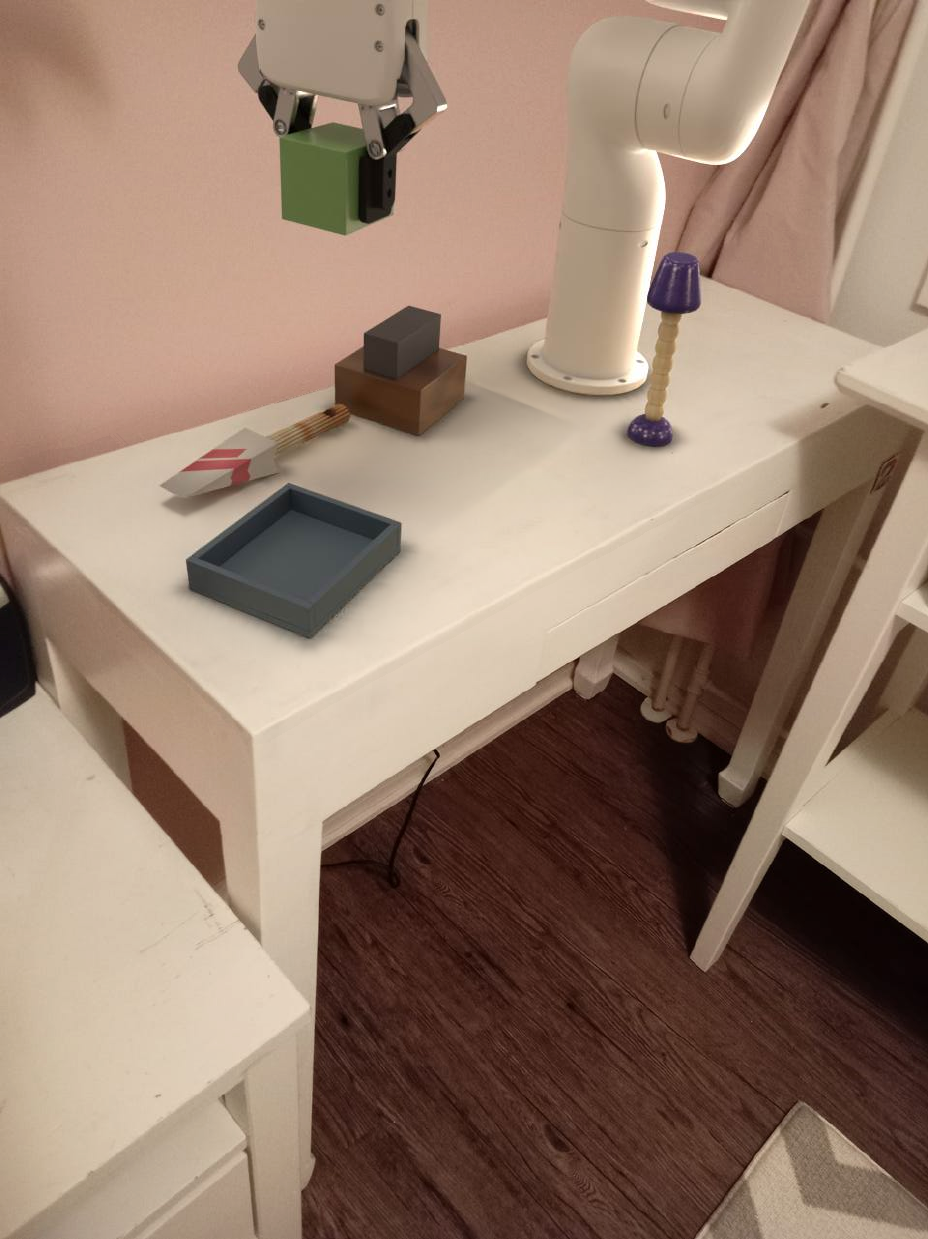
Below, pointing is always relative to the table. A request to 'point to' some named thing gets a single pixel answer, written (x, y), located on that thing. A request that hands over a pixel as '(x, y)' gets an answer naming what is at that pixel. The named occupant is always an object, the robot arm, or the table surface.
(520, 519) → the table surface
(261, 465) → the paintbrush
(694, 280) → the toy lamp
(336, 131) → the green block
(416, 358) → the charcoal block
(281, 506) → the tray
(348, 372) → the walnut block
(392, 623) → the table surface
